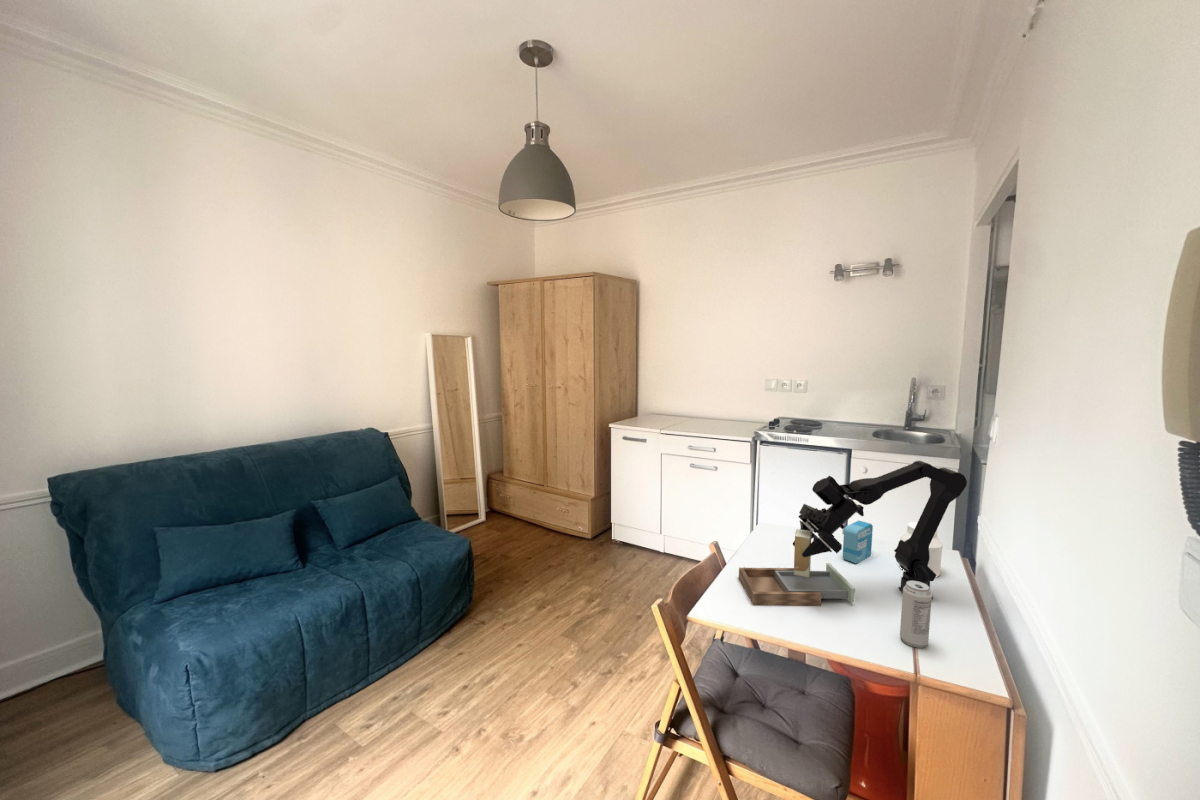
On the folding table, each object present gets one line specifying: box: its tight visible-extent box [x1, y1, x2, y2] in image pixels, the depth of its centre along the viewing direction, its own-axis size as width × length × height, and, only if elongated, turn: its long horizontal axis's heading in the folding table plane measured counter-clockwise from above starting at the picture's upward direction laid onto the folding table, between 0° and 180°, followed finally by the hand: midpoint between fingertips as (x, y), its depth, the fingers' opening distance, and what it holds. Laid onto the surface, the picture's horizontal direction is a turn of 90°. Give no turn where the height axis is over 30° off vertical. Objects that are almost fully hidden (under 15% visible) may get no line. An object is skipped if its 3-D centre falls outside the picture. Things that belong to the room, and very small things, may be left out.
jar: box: [898, 521, 944, 577], centre depth 160 cm, size 12×10×15 cm
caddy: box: [738, 567, 822, 607], centre depth 147 cm, size 19×16×4 cm
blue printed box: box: [842, 520, 874, 564], centre depth 169 cm, size 12×4×12 cm, turn 128°
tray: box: [774, 562, 856, 603], centre depth 147 cm, size 18×16×4 cm
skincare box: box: [793, 528, 812, 577], centre depth 145 cm, size 6×4×12 cm
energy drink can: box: [899, 581, 933, 649], centre depth 121 cm, size 6×6×15 cm
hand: (798, 550), depth 145 cm, fingers closed on skincare box, 7 cm apart
